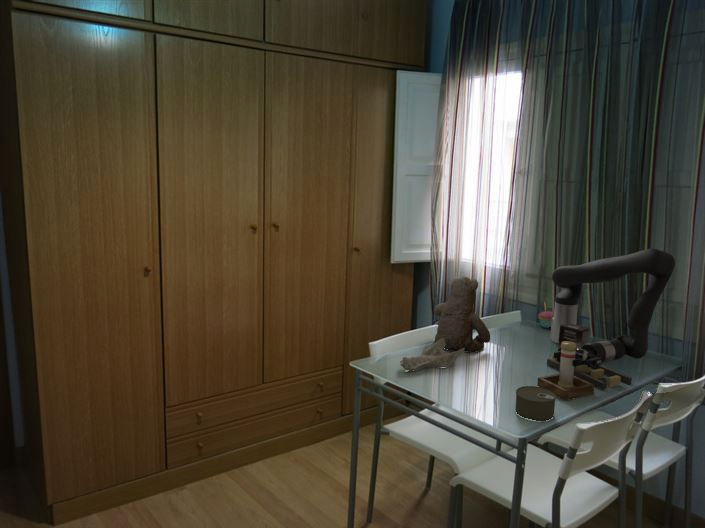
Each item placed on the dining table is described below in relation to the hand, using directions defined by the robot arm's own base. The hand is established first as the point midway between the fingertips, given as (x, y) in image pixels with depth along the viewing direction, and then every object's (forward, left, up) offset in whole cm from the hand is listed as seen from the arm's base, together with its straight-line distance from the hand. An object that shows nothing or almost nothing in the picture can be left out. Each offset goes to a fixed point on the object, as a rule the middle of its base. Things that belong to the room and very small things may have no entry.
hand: (563, 359), depth 205 cm
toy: (-53, -4, -12) cm, 54 cm away
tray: (0, +2, -12) cm, 12 cm away
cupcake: (-60, +51, -12) cm, 80 cm away
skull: (-38, -28, -12) cm, 49 cm away
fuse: (0, +2, -11) cm, 11 cm away
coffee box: (-16, +21, -12) cm, 29 cm away
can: (+10, -21, -12) cm, 26 cm away
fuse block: (-9, +21, -12) cm, 25 cm away
